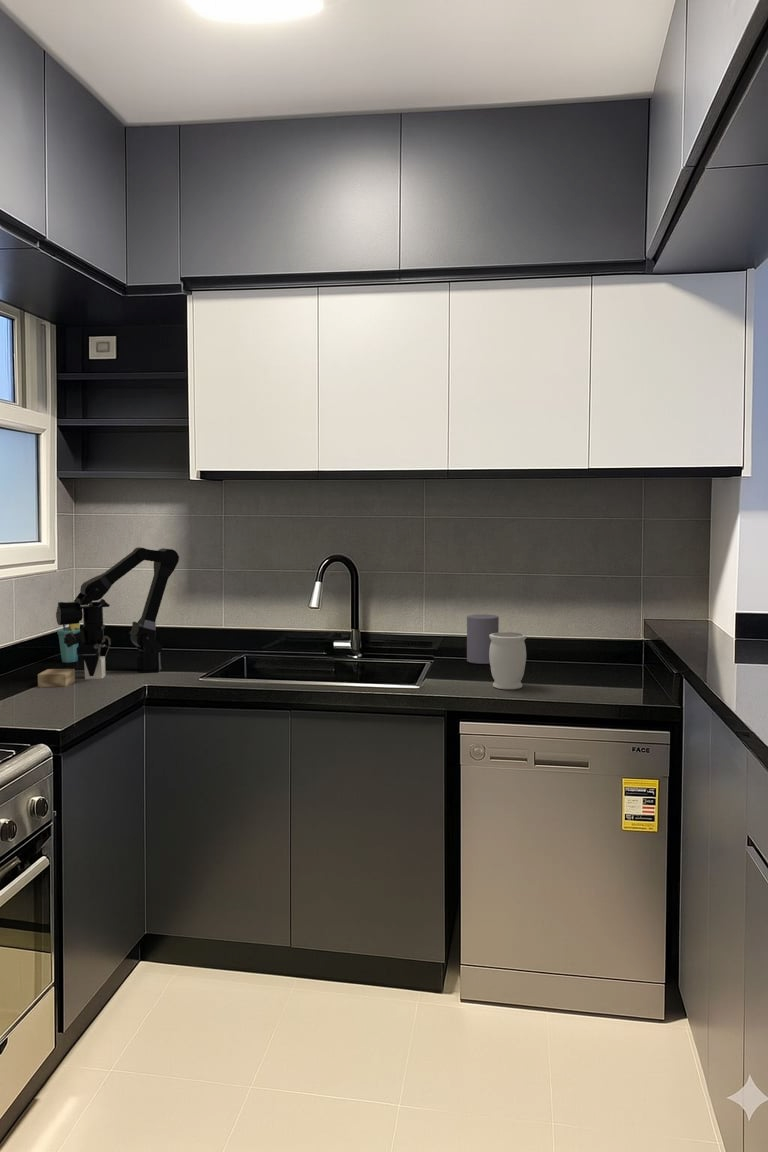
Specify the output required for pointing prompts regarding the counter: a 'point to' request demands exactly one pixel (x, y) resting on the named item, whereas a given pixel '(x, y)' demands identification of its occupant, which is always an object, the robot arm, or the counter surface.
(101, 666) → the ceramic cube
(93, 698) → the counter surface
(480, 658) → the container
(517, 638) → the jar
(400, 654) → the counter surface
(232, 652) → the counter surface
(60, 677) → the oak block
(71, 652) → the cup
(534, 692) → the counter surface
